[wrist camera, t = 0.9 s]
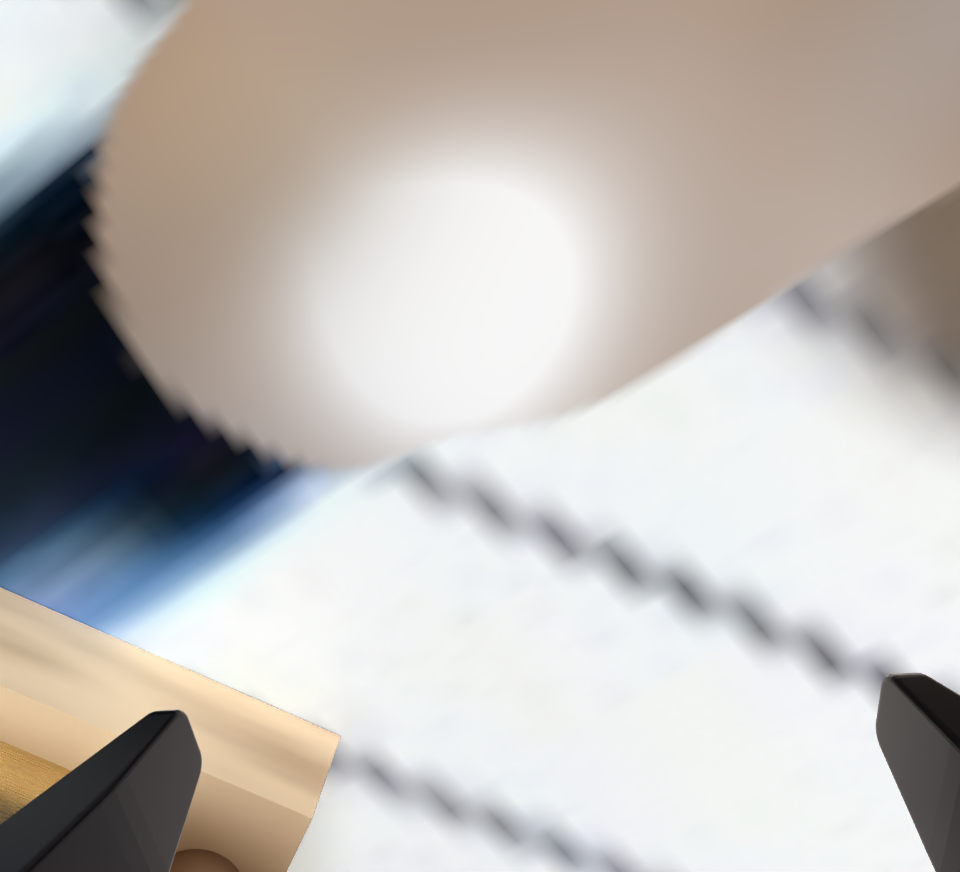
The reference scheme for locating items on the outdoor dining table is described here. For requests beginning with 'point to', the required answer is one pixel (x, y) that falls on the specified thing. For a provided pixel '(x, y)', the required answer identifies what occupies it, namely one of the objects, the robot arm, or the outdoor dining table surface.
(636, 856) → the outdoor dining table surface
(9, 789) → the tan slotted block
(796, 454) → the outdoor dining table surface
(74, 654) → the plane body
